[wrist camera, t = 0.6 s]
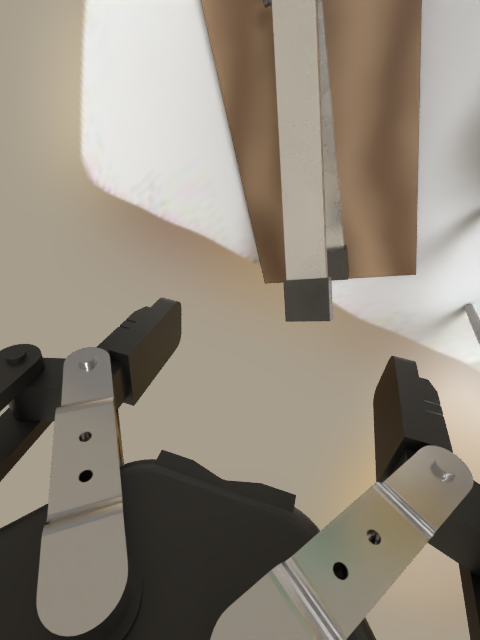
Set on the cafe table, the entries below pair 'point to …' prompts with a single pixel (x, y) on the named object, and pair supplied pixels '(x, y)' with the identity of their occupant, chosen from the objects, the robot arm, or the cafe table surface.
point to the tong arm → (301, 159)
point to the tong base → (331, 167)
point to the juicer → (473, 320)
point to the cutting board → (349, 122)
